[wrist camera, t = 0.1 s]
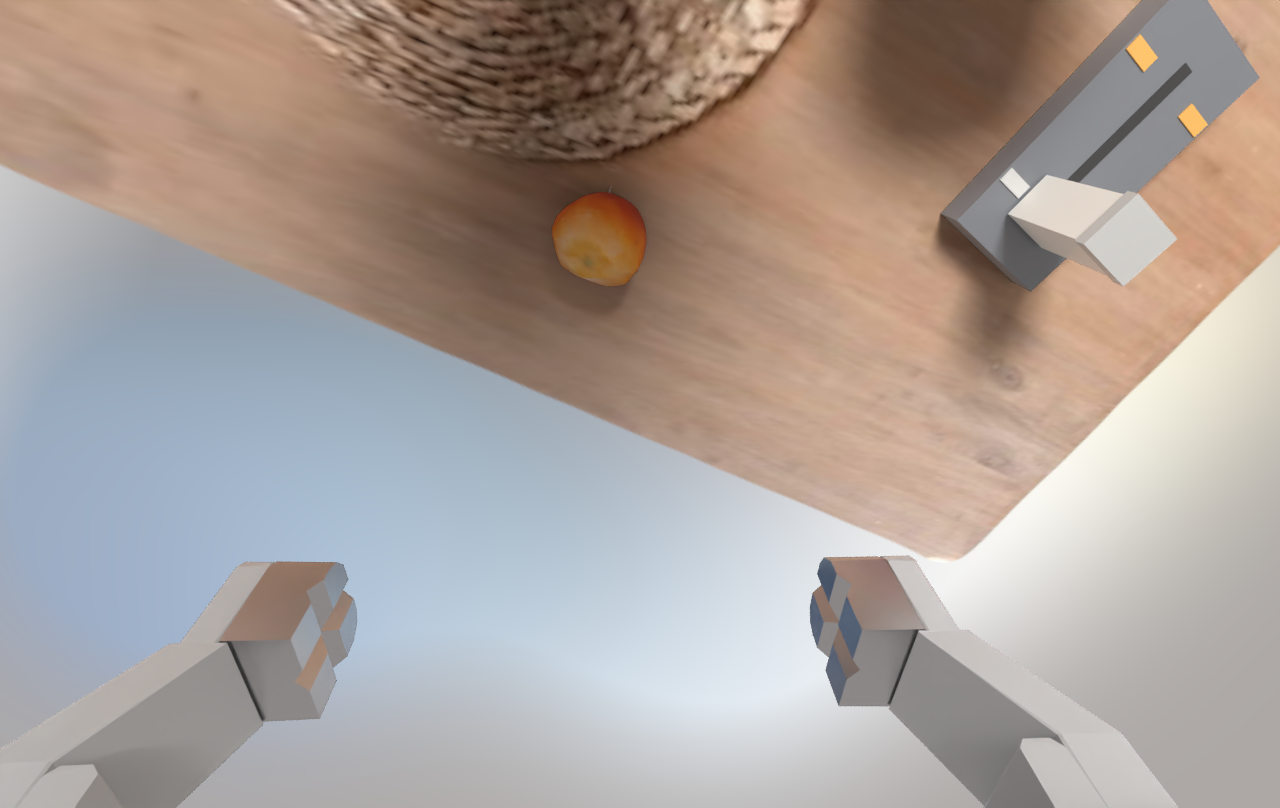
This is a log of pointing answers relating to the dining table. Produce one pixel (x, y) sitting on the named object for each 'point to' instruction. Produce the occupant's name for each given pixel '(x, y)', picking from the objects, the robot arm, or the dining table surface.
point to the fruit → (600, 238)
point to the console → (1107, 125)
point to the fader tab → (1093, 226)
